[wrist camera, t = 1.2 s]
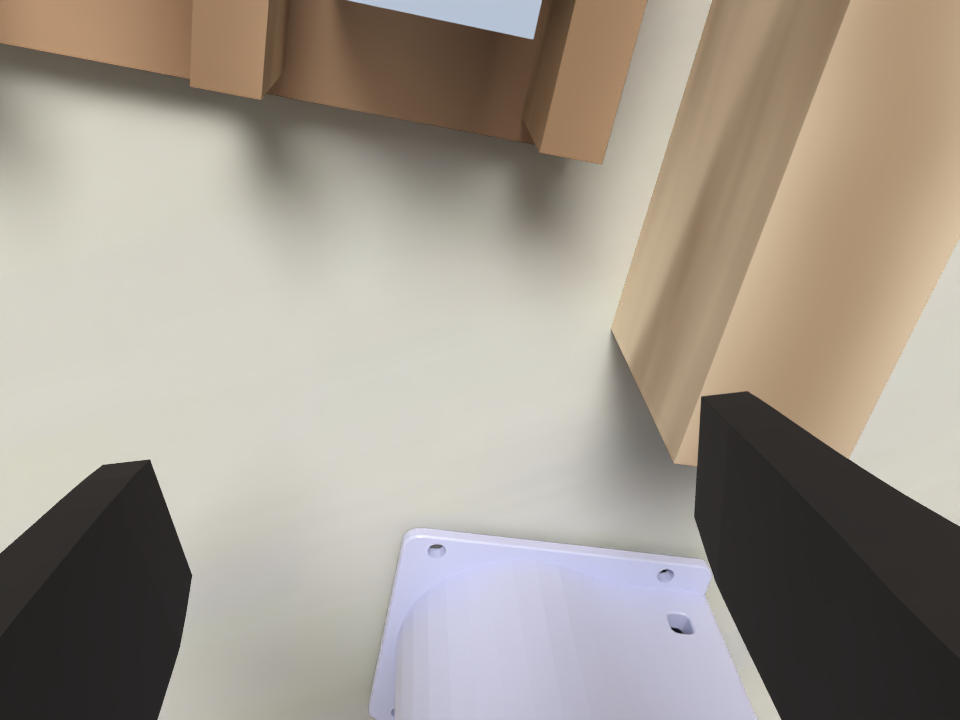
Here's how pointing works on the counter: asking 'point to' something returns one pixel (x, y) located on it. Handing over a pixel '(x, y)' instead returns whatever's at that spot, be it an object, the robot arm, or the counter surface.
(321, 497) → the counter surface
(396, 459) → the counter surface
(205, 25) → the rack
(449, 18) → the blue slat
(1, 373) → the counter surface
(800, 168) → the wooden block
